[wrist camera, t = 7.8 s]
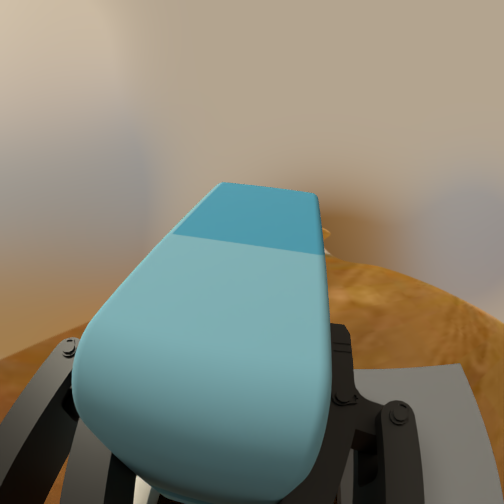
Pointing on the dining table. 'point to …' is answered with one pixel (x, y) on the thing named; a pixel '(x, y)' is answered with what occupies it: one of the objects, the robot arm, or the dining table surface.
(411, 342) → the dining table surface
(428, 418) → the mat
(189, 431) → the blue rounded block
